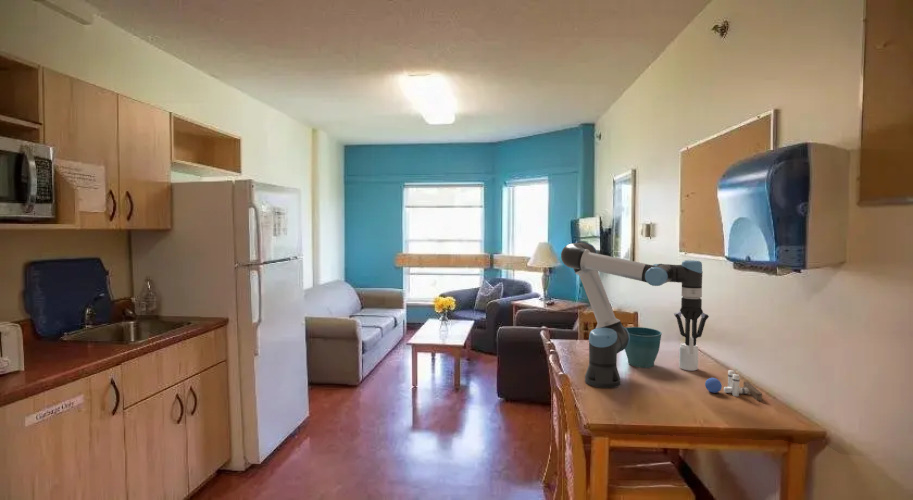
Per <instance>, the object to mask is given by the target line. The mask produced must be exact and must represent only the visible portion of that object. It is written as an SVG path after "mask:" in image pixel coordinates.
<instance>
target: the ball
mask: <svg viewBox="0 0 913 500" xmlns="http://www.w3.org/2000/svg"><path fill="white" fill-rule="evenodd" d="M722 385H723V384H722V382H721V381H720V380H719V379H718V378H716V377H709V378H708V379H706V380H705V383H704V386H705V388H706V389H707V391H708V392H710V393H714V394H715V393H719V392H720V391H721V390H722Z"/></svg>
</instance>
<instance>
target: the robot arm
mask: <svg viewBox="0 0 913 500" xmlns="http://www.w3.org/2000/svg"><path fill="white" fill-rule="evenodd" d="M560 258H561V261H562V264H563V265H565V267H567V268H569V269H573V271H574V274H575V275H577V276H579V278H580V281H581V283H582V286H583V288H584V291H585V294H586V296H587V298H588V299H587V300H588V302H589V304H590V307H591V309H592V312H593V315H594V317H595V320H596V322H597V324H596V326H595V328H594V329H592V330H590V332H589V335H588V336H589V337H588V366H587V369H586V372H585V373H584V374H585V375H584V382H585V383H586V384H587V385H589V386H591V387H594V388H599V389H615V388H618V387H620V386H621V385H622V384H621V382H622V381H621V379H622V378H621V376H620V374H619V370H618V367H617V359H618V358H617V356H618V353H620V352H622V351H625V348H626V347H627V346H628V344H629V341H630V335H629V332H628V331H627V329H626V328H627V327H624V326H623V324H622V321H621V319H619V318H617V317H616V315H615V312H614V311H613V307H612V305H611V303H610V300H609V297H608V295H607V292H606V290H605V286H604V285H603V282H602V279H601V277H600V274H599V273H603V274H609V275H613V276H617V277H621V278H626V279H630V280H634V281H635V280H636V281H639V282H644V283H647V284H648V285H650V286H652V287H658V286H659V287H660V286H662V285H664V284H666V283H679V284H681V301H680V302H681V307H680V309H679V311H678V312H674V313H673V315H674V317H675V318H676V320H677V325H678V329H679V333H680V335H681V336H682V337H683V338H685V344H686V345H688V353H689V354H693V346H696V344H697V339H698V338H701V337H702V335H703V333H704V332H703V331H704V328H705V324H706V321H707V320H708V319H709V315H708V314H707V313H704V311H703V307H702V305H703V301H702V296H703V262H702V261H700V260H694V259H693V260H691V259H689V260H682V262H681V264H668V263H667V264H665V263H653V264H647V263H643V262H638V261H634V260H629V259H624V258H619V257H614V256H610V255H605V254H601V253H598V251H597V248H596V247H595V246H594V245H593V244H591V243H589V242H584V241H582V242H574V243H569V244H567V245H565V246H564V247H563V248H562V250H561V252H560ZM682 316H683V318H684V320H685V321H684V322H685V324H683V321H682V318H681V317H682ZM700 317H701V318H700ZM699 318H700V320H699V321H700V322H699V324H698V319H699ZM684 325H685V326H684ZM697 326H698V327H697ZM690 333H691V334H690ZM690 335H691V337H690Z"/></svg>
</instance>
